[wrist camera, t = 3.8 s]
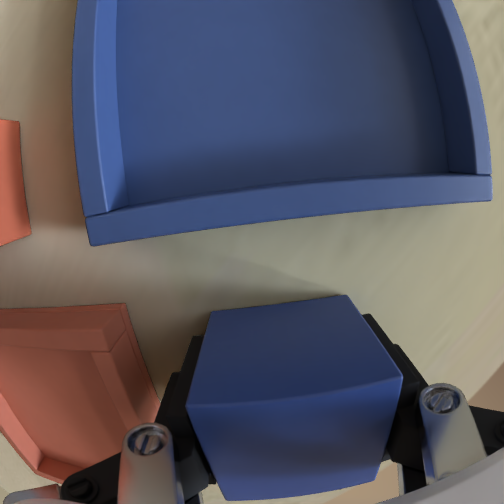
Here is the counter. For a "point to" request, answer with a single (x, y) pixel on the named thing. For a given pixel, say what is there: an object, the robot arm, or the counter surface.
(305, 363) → the blue block
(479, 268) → the counter surface
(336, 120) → the blue tray
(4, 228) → the terracotta block
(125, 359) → the terracotta tray
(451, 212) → the counter surface
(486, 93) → the counter surface
